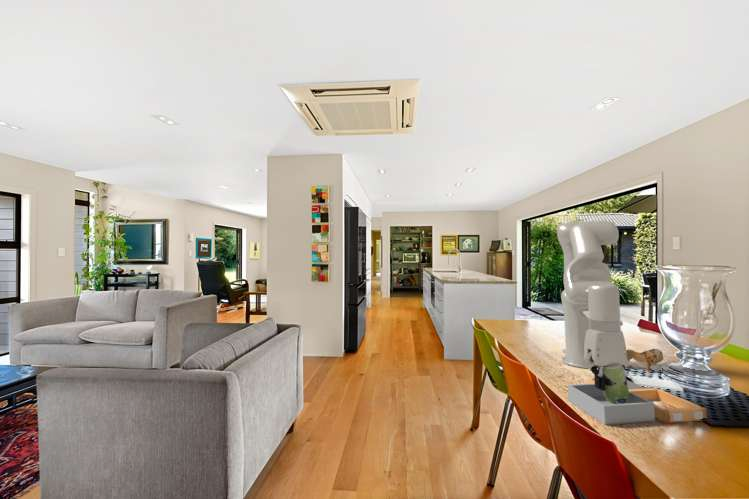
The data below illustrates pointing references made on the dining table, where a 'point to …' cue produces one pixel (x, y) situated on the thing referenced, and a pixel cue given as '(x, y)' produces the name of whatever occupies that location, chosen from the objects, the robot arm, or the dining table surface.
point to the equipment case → (682, 407)
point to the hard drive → (656, 383)
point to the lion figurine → (646, 357)
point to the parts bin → (610, 406)
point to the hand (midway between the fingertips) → (607, 387)
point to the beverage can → (616, 384)
